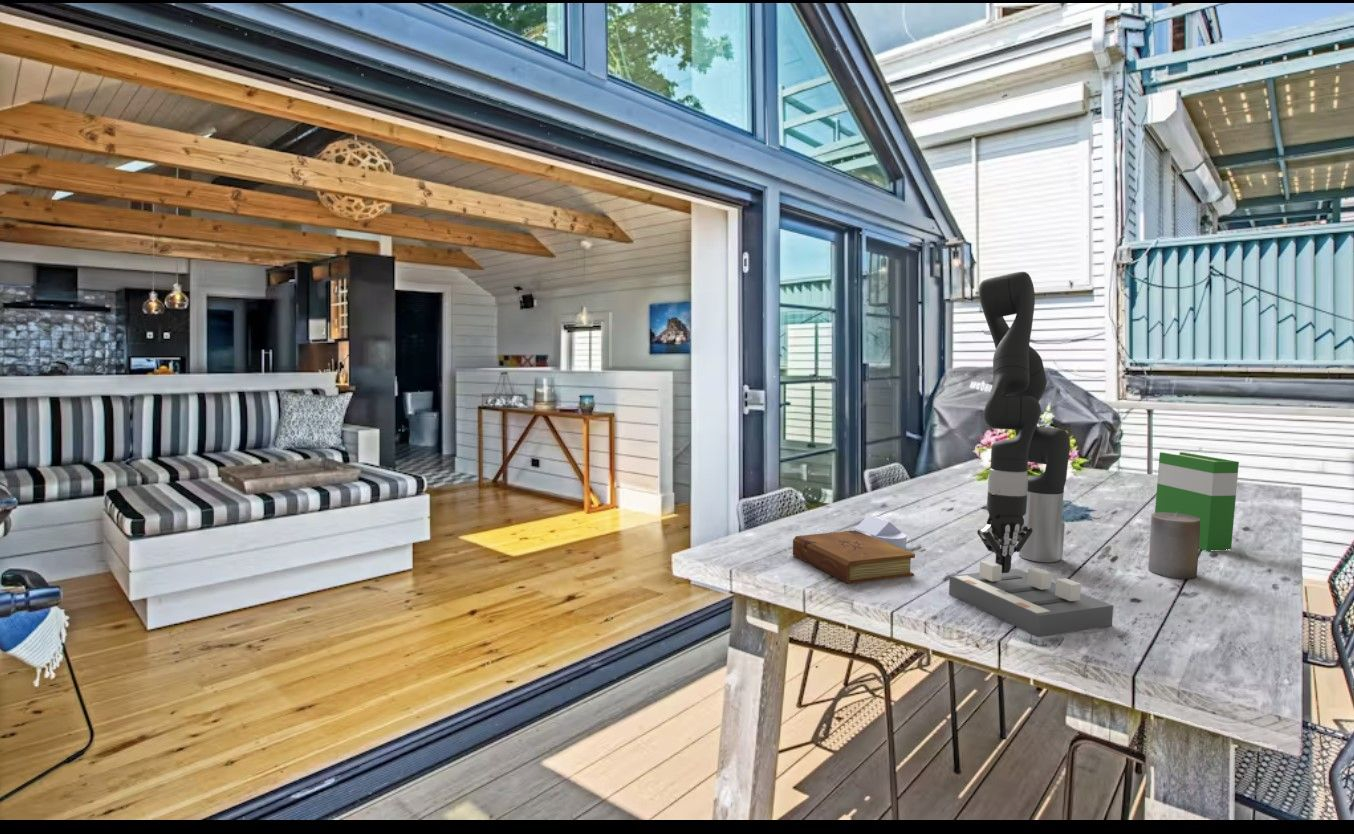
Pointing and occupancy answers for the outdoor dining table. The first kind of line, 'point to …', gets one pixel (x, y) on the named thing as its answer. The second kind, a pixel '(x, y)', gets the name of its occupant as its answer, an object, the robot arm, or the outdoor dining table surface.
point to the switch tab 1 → (990, 570)
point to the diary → (853, 556)
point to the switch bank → (1030, 604)
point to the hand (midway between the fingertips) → (1002, 571)
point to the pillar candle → (1174, 545)
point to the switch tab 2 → (1039, 578)
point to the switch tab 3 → (1068, 589)
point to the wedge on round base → (883, 531)
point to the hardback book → (1200, 494)
